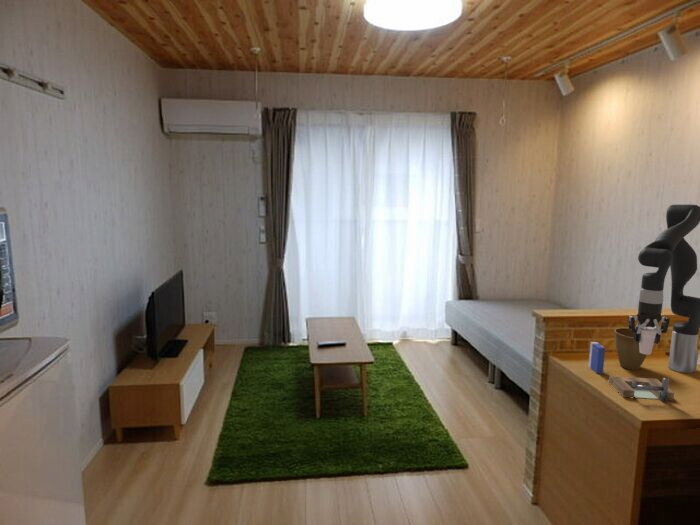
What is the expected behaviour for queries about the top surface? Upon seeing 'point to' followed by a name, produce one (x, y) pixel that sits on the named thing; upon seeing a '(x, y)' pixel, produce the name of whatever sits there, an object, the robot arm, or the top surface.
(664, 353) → the top surface
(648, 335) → the smoothie
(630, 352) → the plant pot
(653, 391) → the tan frame
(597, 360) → the walkman
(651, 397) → the bay mat
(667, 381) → the dark grey piece
